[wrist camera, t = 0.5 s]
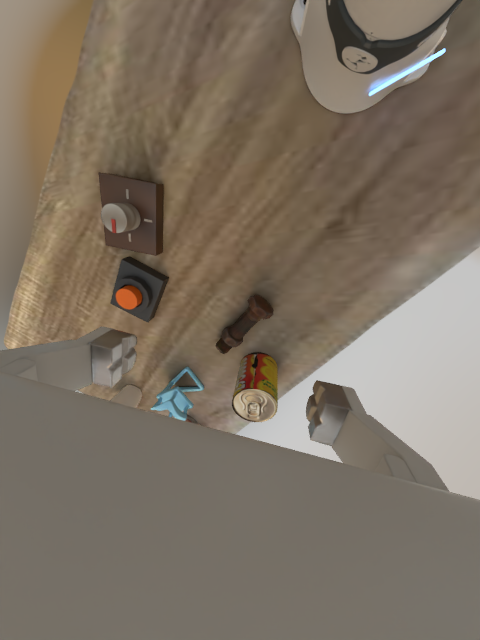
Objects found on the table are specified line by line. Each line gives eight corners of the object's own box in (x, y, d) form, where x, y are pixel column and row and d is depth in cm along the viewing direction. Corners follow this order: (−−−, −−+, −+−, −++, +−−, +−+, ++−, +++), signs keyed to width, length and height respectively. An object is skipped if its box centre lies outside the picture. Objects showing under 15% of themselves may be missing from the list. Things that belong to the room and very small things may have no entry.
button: (124, 281, 47) (118, 284, 45) (144, 291, 47) (139, 295, 45) (119, 298, 49) (113, 302, 47) (139, 309, 49) (133, 313, 48)
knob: (116, 200, 41) (98, 201, 37) (140, 205, 41) (124, 206, 37) (118, 227, 43) (101, 230, 39) (141, 232, 43) (126, 235, 39)
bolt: (221, 337, 57) (262, 294, 50) (234, 354, 56) (277, 312, 48) (206, 342, 52) (248, 295, 45) (219, 361, 51) (265, 315, 44)
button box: (129, 256, 49) (116, 261, 45) (168, 277, 50) (159, 284, 46) (117, 298, 54) (104, 306, 50) (153, 317, 55) (144, 326, 51)
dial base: (109, 173, 42) (97, 172, 39) (163, 184, 42) (155, 183, 39) (115, 242, 48) (105, 245, 45) (162, 252, 47) (155, 255, 45)
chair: (163, 376, 63) (141, 412, 52) (188, 366, 60) (169, 401, 50) (180, 396, 65) (162, 434, 55) (204, 387, 63) (190, 425, 52)
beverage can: (277, 352, 55) (277, 389, 44) (277, 382, 59) (277, 423, 48) (238, 352, 56) (229, 388, 45) (241, 381, 60) (234, 420, 49)
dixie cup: (151, 391, 66) (132, 421, 57) (140, 407, 70) (121, 437, 61) (124, 376, 65) (100, 404, 56) (115, 393, 69) (91, 422, 60)
